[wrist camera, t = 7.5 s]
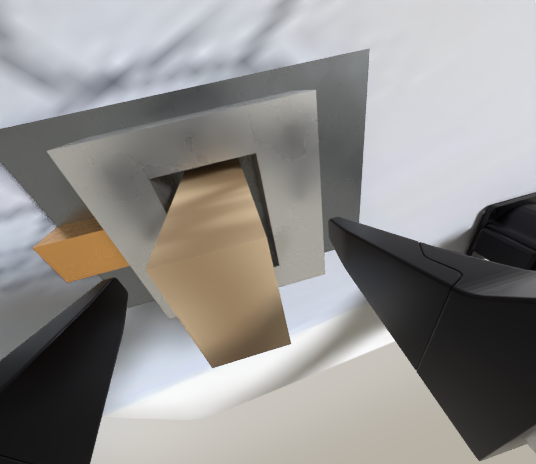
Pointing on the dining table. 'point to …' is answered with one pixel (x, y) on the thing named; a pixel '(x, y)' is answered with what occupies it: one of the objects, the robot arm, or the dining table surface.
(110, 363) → the robot arm
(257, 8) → the dining table surface
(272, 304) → the oak wedge
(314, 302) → the dining table surface
